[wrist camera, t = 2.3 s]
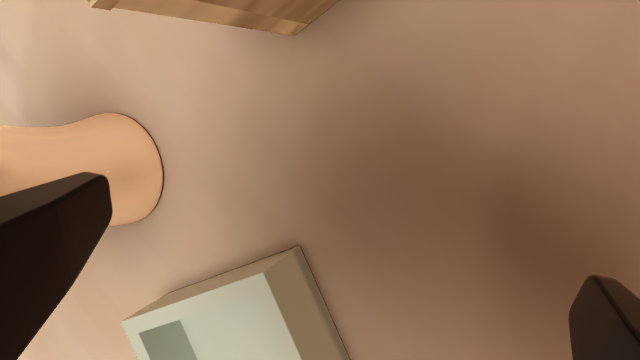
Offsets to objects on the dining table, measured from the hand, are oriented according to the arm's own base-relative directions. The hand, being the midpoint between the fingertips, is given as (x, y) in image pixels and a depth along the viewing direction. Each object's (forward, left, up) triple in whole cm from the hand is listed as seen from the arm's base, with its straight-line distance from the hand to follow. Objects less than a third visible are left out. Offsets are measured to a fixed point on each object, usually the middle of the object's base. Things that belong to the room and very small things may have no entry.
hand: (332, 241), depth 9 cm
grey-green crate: (-8, +11, -12) cm, 18 cm away
